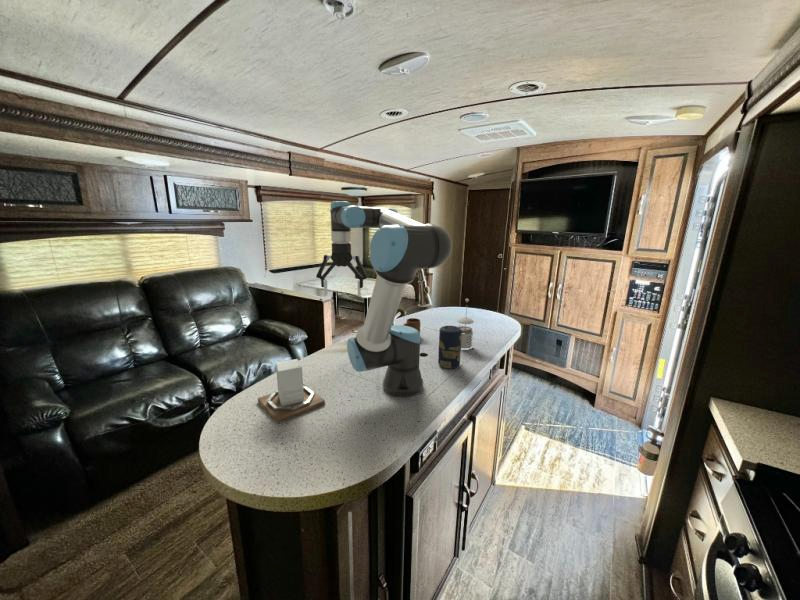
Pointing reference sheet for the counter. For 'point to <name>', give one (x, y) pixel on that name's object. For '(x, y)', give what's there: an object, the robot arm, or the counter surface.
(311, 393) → the metal ring
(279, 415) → the walnut board
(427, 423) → the counter surface
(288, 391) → the supplement box
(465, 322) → the french press
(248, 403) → the counter surface
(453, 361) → the canister
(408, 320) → the mug
